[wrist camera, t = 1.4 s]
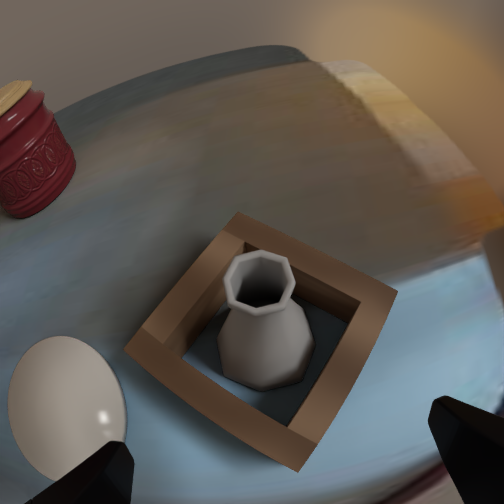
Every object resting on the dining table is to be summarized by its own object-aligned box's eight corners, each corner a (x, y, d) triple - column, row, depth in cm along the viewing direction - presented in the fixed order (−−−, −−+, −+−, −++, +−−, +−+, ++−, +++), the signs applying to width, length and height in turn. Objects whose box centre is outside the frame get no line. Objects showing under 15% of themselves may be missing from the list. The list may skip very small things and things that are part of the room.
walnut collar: (293, 464, 16) (297, 472, 13) (145, 363, 21) (122, 349, 18) (380, 313, 22) (398, 291, 19) (242, 241, 27) (237, 211, 23)
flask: (210, 387, 20) (162, 352, 12) (223, 296, 24) (193, 213, 16) (313, 394, 19) (343, 365, 11) (315, 300, 23) (336, 217, 15)
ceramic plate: (76, 511, 14) (70, 513, 13) (-3, 405, 18) (-9, 403, 18) (159, 407, 19) (155, 406, 18) (62, 312, 24) (57, 308, 23)
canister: (11, 182, 36) (-39, 100, 22) (75, 142, 39) (33, 48, 25) (6, 237, 30) (-69, 140, 15) (82, 188, 33) (19, 68, 18)
